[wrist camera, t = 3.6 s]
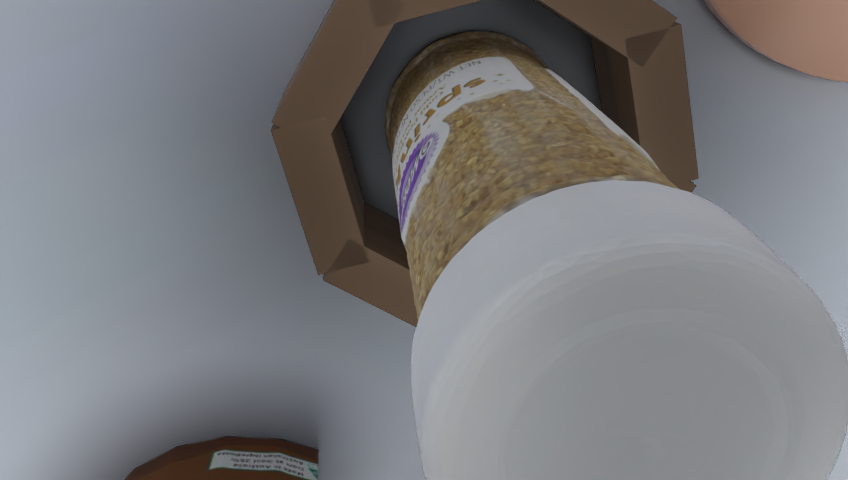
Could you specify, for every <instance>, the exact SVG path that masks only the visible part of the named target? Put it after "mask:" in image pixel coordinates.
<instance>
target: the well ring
mask: <svg viewBox="0 0 848 480" xmlns="http://www.w3.org/2000/svg"><path fill="white" fill-rule="evenodd" d="M477 1H481V0H334V2H333V4H332V5H331V7H330V9H329V11H328V13H327V15H326V16H325V18H324V20H323V22H322V24H321V26H320V27H319V29H318V31H317V33H316V35H315V37H314V38H313V40H312V42H311V44H310V46H309V48H308V49H307V51H306V53H305V55H304V57H303V59H302V60H301V62H300V64H299V66H298V68H297V70H296V71H295V73H294V75H293V77H292V79H291V81H290V82H289V84H288V86H287V88H286V90H285V92H284V94H283V96H282V99H281V101H280V103H279V106H278V108H277V111H276V113H275V116H274V118H273V120H272V123H273V126H272V129H271V132H272V135H273V138H274V141H275V144H276V147H277V150H278V154H279V157H280V160H281V163H282V166H283V169H284V172H285V175H286V178H287V181H288V184H289V187H290V190H291V193H292V196H293V199H294V202H295V205H296V208H297V212H298V215H299V218H300V221H301V224H302V227H303V230H304V233H305V236H306V239H307V242H308V245H309V248H310V251H311V254H312V257H313V260H314V263H315V266H316V270H317V273H318V275H319V274H323V273H324V275H323V280H324V281H326V282H328V283H330V284H332V285H334V286H336V287H338V288H340V289H342V290H344V291H346V292H348V293H350V294H352V295H354V296H356V297H358V298H360V299H361V300H363V301H365V302H367V303H369V304H371V305H373V306H375V307H377V308H379V309H381V310H383V311H385V312H387V313H389V314H391V315H393V316H395V317H397V318H399V319H401V320H403V321H405V322H407V323H409V324H411V325H413V326H415V327H417V324H418V318H417V311H416V306H415V303H414V293H413V288H412V281H411V277H410V268H409V265H408V259H407V251H406V249H405V246H404V243H403V241H402V238H401V231H400V222H399V220H397V219H395V218H393V217H391V216H390V215H388V214H386V213H384V212H382V211H380V210H378V209H377V208H375V207H373V206H371V205H369V204H367V203H365V202H364V201H363V197H362V194H361V190H360V187H359V183H358V180H357V177H356V173H355V170H354V166H353V163H352V159H351V156H350V152H349V149H348V146H347V142H346V139H345V135H344V132H343V128H342V125H341V122H340V118H341V116H342V114H343V112H344V111H345V109H346V107H347V105H348V104H349V102H350V100H351V99H352V97H353V95H354V93H355V92H356V90H357V88H358V86H359V85H360V83H361V81H362V79H363V78H364V76H365V74H366V72H367V71H368V69H369V67H370V66H371V64H372V62H373V60H374V59H375V57H376V55H377V53H378V52H379V50H380V48H381V46H382V45H383V43H384V41H385V39H386V38H387V36H388V34H389V33H390V31H391V29H392V27H393V26H394V24H395V23H397V22H401V21H405V20H408V19H412V18H416V17H420V16H424V15H428V14H431V13H435V12H439V11H443V10H447V9H451V8H454V7H458V6H462V5H466V4H470V3H474V2H477ZM535 1H536V2H538V3H540V4H541V5H543V6H544V7H546V8H547V9H549V10H550V11H552V12H553V13H555V14H556V15H558V16H559V17H561V18H563V19H564V20H566V21H567V22H569V23H570V24H572V25H573V26H575V27H576V28H578V29H579V30H581V31H583V32H584V33H586V34H587V35H589V36H590V37H591V43H592V49H593V55H594V62H595V68H596V74H597V80H598V87H599V93H600V99H601V106H602V112H603V114H604V115H606V116H607V117H608V118H609V119H610V120H612V121H613V122H614V123H615V124H616V125H617V126H618V127H620V128H621V129H622V130H623V131H624V132H625V133H626V134H627V135H628V136H629V137H631V138H632V139H633V140H634V141H635V142H636V143H637V144H638V145H640V146H641V147H642V148H643V149H644V150H645V151H646V152H647V154H648V155H649V156H650V157H651V159H652V160H653V161H654V162H655V164H656V165H657V167H658V168H659V170H660V171H661V172H662V173H663V174H664V175H665V176H666V177H667V178H668V180H669V181H670V182H672V183H673V184H674V185H675V186H676V187H677V188H679V189H680V190H684V191H688V192H692V191H693V190H694V188H695V187H696V185H695V184H694V183H693V182H691V180H695V179H699V178H698V169H697V160H696V152H695V143H694V134H693V125H692V116H691V108H690V99H689V90H688V81H687V73H686V64H685V55H684V46H683V37H682V29H681V24H678V23H676V22H674V21H675V20H676V18H677V17H675V16H674V15H672V14H671V13H669V12H668V11H667V10H665V9H664V8H662V7H661V6H659V5H658V4H656V3H655V2H653V1H652V0H535Z"/></svg>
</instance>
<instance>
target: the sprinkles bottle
mask: <svg viewBox="0 0 848 480" xmlns="http://www.w3.org/2000/svg"><path fill="white" fill-rule="evenodd" d="M385 130H386V139H387V142H388V147H389V150H390V153H391V156H392V168H393V179H394V187H395V194H396V201H397V209H398V216H399V222H400V231H401V238H402V241H403V243H404V246H405V249H406V251H407V259H408V265H409V268H410V277H411V281H412V288H413V293H414V303H415V306H416V311H417V318H418V324H417V327H416V330H415V333H414V337H413V343H412V355H411V388H412V399H413V407H414V416H415V425H416V431H417V437H418V444H419V450H420V455H421V461H422V467H423V471H424V475H425V478H426V480H827V478H828V477H829V475H830V473H831V471H832V469H833V468H834V465H835V463H836V460H837V458H838V455H839V453H840V450H841V447H842V444H843V441H844V438H845V435H846V430H847V425H848V361H847V356H846V352H845V349H844V346H843V342H842V338H841V336H840V334H839V332H838V330H837V327H836V325H835V323H834V321H833V320H832V318H831V316H830V315H829V313H828V311H827V309H826V308H825V306H824V305H823V303H822V302H821V300H820V299H819V297H818V296H817V295H816V294H815V292H814V291H813V290H812V289H811V288H810V287H809V286H808V285H807V284H806V283H805V282H804V281H803V280H802V279H801V278H800V277H799V276H798V275H797V274H796V273H795V272H794V271H793V270H792V269H791V268H790V267H789V266H788V265H787V264H786V263H785V262H784V261H783V260H782V259H781V258H780V257H779V256H778V255H777V254H776V253H775V252H774V251H773V250H771V249H770V248H769V247H768V246H767V245H766V244H765V243H763V242H762V241H761V240H760V239H759V238H758V237H757V236H755V235H754V234H753V233H752V232H751V231H750V230H748V229H747V228H746V227H745V226H744V225H742V224H741V223H740V222H739V221H737V220H736V219H735V218H734V217H732V216H731V215H730V214H729V213H727V212H726V211H724V210H723V209H721V208H720V207H718V206H717V205H715V204H714V203H712V202H711V201H708V200H706V199H704V198H702V197H700V196H697V195H695V194H693V193H691V192H688V191H684V190H680V189H679V188H677V187H676V186H675V185H674V184H673V183H672V182H670V181H669V180H668V178H667V177H666V176H665V175H664V174H663V173H662V172H661V171H660V170H659V168H658V167H657V165H656V164H655V162H654V161H653V160H652V159H651V157H650V156H649V155H648V154H647V152H646V151H645V150H644V149H643V148H642V147H641V146H640V145H638V144H637V143H636V142H635V141H634V140H633V139H632V138H631V137H629V136H628V135H627V134H626V133H625V132H624V131H623V130H622V129H621V128H620V127H618V126H617V125H616V124H615V123H614V122H613V121H612V120H610V119H609V118H608V117H607V116H606V115H604V114H603V113H602V112H601V111H600V110H599V109H598V108H596V107H595V106H594V105H593V104H592V103H591V102H590V101H589V100H587V99H586V98H585V97H584V96H583V95H582V94H580V93H579V92H578V91H577V90H575V89H574V88H573V87H572V86H571V85H570V84H568V83H567V82H566V81H565V80H564V79H562V78H561V77H560V76H559V75H557V74H556V73H554V72H553V71H551V70H550V69H549V68H548V66H547V65H546V64H545V63H544V62H543V61H542V60H541V59H540V58H539V57H538V56H537V55H536V54H535V53H534V51H533V50H532V49H530V48H529V47H527V46H526V45H523V44H522V43H520V42H518V41H517V40H515V39H513V38H510V37H508V36H505V35H503V34H500V33H495V32H484V31H473V32H465V33H461V34H458V35H452V36H449V37H447V38H444V39H440V40H438V41H436V42H434V43H433V44H431V45H429V46H428V47H426V48H425V49H423V50H422V51H421V52H420V53H419V54H418V55H416V56H415V57H414V58H413V59H412V60H411V61H410V62H409V63H408V65H407V67H406V68H405V69H404V71H403V72H402V73H401V74H400V76H399V78H398V79H397V80H396V82H395V83H394V85H393V87H392V90H391V93H390V97H389V99H388V102H387V104H386V115H385Z"/></svg>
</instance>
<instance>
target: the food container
mask: <svg viewBox="0 0 848 480" xmlns="http://www.w3.org/2000/svg"><path fill="white" fill-rule="evenodd" d="M124 480H318V450H317V449H314V448H310V447H307V446H304V445H300V444H297V443H293V442H290V441H287V440H283V439H274V438H256V437H238V436H225V437H220V438H215V439H210V440H206V441H201V442H196V443H191V444H186V445H181V446H177V447H175V448H173V449H171V450H169V451H167V452H165V453H163V454H162V455H160V456H158V457H156V458H154V459H152V460H150V461H148V462H146V463H145V464H143V465H141V466H139V467H137V468H135V469H134V470H133V471H132V472H131V473H130V474H129V475H128V476H127V477H126V478H125V479H124Z"/></svg>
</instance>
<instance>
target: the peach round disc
mask: <svg viewBox="0 0 848 480" xmlns="http://www.w3.org/2000/svg"><path fill="white" fill-rule="evenodd" d="M704 2H705V3H706V5H707V6H708V8H709V9H710V11H711V12H712V13H713V14H714V15H715V16H716V17H717V18H718V20H719V21H720V22H721V23H722V24H723V25H724V26H725V27H726V28H727V29H728V30H729V31H730V32H731V33H732V34H734V35H735V36H736V37H737V38H738V39H740V40H741V41H742V42H743V43H745V44H746V45H747V46H748V47H750V48H752V49H753V50H755V51H757V52H759V53H760V54H762V55H764V56H765V57H767V58H769V59H771V60H773V61H775V62H778V63H781V64H783V65H786V66H788V67H791V68H793V69H796V70H799V71H801V72H804V73H807V74H809V75H812V76H817V77H821V78H826V79H830V80H834V81H841V82H848V0H704Z"/></svg>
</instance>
